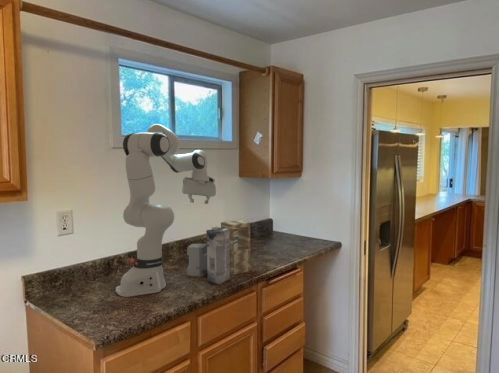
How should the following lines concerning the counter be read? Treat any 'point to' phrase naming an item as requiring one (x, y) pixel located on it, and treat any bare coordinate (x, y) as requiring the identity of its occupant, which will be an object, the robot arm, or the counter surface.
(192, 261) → the circuit breaker
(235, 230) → the baking soda box
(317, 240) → the counter surface
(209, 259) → the juice carton
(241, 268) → the birch stool
